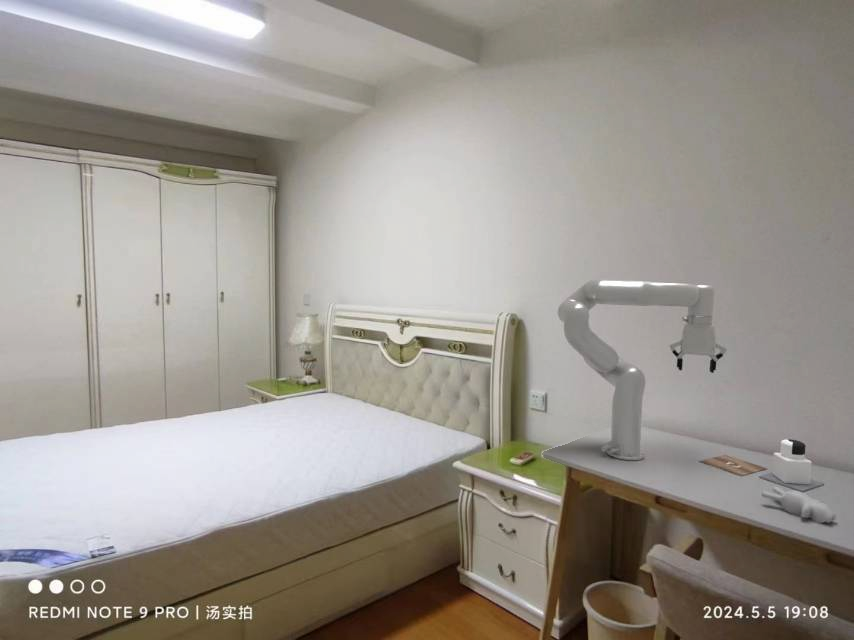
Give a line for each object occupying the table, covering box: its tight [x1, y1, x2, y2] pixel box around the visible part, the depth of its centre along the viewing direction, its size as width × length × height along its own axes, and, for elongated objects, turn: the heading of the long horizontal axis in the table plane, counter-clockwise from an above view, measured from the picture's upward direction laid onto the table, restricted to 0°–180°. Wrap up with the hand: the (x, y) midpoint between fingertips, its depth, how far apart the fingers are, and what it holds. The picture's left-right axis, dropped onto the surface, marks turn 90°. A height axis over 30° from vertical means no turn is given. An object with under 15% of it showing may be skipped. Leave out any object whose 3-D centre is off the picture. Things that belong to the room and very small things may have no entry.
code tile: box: [699, 454, 768, 477], centre depth 166 cm, size 14×14×1 cm
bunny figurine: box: [761, 485, 837, 524], centre depth 132 cm, size 10×5×15 cm
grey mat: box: [758, 472, 825, 493], centre depth 153 cm, size 12×12×1 cm
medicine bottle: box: [771, 438, 812, 485], centre depth 153 cm, size 7×7×12 cm
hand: (695, 370), depth 173 cm, fingers open, 9 cm apart
